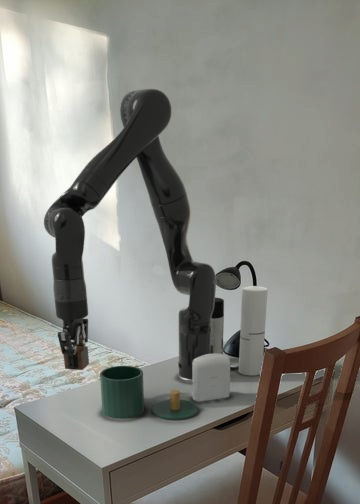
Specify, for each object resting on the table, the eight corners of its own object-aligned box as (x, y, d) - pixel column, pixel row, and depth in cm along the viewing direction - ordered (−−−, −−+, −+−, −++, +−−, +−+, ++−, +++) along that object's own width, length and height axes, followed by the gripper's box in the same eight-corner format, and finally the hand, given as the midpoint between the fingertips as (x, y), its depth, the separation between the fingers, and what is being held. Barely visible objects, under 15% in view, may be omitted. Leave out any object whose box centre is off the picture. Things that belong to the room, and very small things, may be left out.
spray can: (225, 364, 167) (227, 301, 159) (205, 366, 165) (206, 302, 157) (218, 357, 173) (219, 296, 165) (198, 359, 171) (199, 297, 163)
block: (72, 362, 134) (70, 345, 132) (89, 363, 133) (87, 346, 131) (64, 369, 130) (63, 351, 128) (82, 370, 129) (81, 352, 127)
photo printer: (195, 404, 138) (195, 359, 133) (189, 398, 142) (190, 354, 137) (231, 399, 141) (233, 354, 136) (225, 393, 145) (226, 349, 140)
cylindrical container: (261, 376, 157) (266, 291, 147) (237, 374, 158) (241, 290, 148) (262, 368, 163) (268, 286, 153) (239, 366, 165) (243, 285, 155)
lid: (176, 400, 141) (176, 380, 138) (207, 412, 133) (207, 391, 131) (143, 412, 133) (142, 391, 131) (174, 426, 126) (174, 404, 124)
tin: (126, 400, 141) (124, 362, 136) (152, 412, 134) (151, 372, 130) (94, 411, 134) (91, 372, 130) (119, 424, 127) (117, 383, 123)
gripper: (74, 304, 118) (81, 376, 124) (96, 290, 130) (101, 356, 137) (42, 303, 119) (51, 374, 126) (67, 290, 132) (73, 355, 139)
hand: (77, 364), depth 131 cm, fingers closed on block, 4 cm apart
